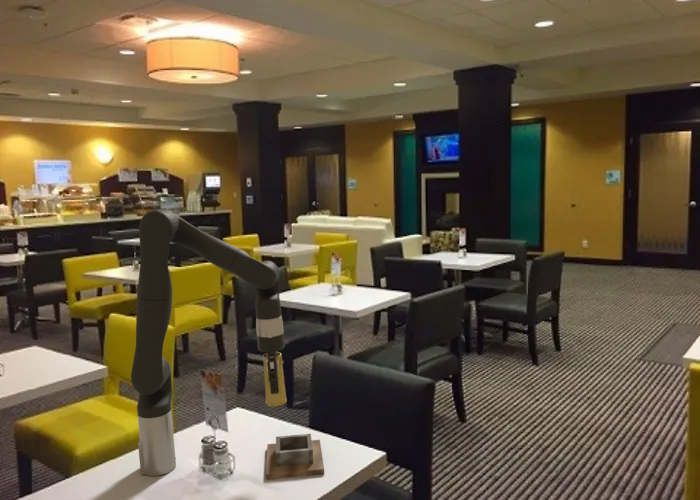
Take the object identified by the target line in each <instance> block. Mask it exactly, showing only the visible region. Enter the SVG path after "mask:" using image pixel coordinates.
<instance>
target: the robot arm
mask: <svg viewBox="0 0 700 500" xmlns="http://www.w3.org/2000/svg"><path fill="white" fill-rule="evenodd" d="M138 226H139V227H138V233H139V234H138V235H139V248H140V249H139V251H140V254H139V255H140V262H139V272H138V273H139V274H138V284H137V293H136V317H135V319H136V321H135V323H136V324H135V349H134V355H133V362H132V367H131V373H130V382H131V384H132V386H133V388H134V390H135V391H136V392H137V393H139V394H138V400H137V405H136V413H137V423H138V424H137V425H138V432H139V433H138V434H139V440H138V443H137V447H138V457H139V467H140V475H145V476H146V475H147V476H151V477H157V476H163V475H166V474H169V473H170V472H172V471H173V470H174V469H175V468H176V466H177V461H176V460H177V458H176V450H175V449H176V448H175V439H174V438H175V437H174V425H173V424H174V423H173V413H172V399H173V387H172V386H173V383H172V371H171V370H172V369H171V365H170V363H169V361H168V360H167V358H165V357H164V356H163V355H164V354H163V351H164V350H163V349H164V343H165V339H166V335H167V332H168V329H169V324H170V320H171V315H172V308H173V307H172V306H173V285H172V279H171V275H170V269H169V254H170V246H171V243H173V244H176V245H179V246H182V247H184V248H187V249H188V250H190V251H192V252H194V253H195V254H197V255H198V256H199V257H202V258H203V259H204V260H206V261H207V262H209V263H210V264H212V265H214V266H216V267H218V268H219V269H222V270H224V271H226V272H228V273H231V274H233V275H235V276H237V277H239V278H240V279H241V280H243V281H244V282H246V283H248V284H249V285H251V286H253V287H255V290H256V299H255V302H254V303H255V304H254V305H255V318H256V322H255V325H256V326H255V329H256V339H257V341H256V342H257V349H258V351H260V352H263V353H264V352H266V353H268V354H265V353H264V354H265V357H268V361H267V360H266V358H265V362H266V366H267V373H268V376H269V379H268V380H269V382H270V389H271V394H277V393H279V388H278V379H279V378H278V372H279V358H278V360H277V362H276V356H279V353H276V352H278V351H281V350H283V349H284V348H285V347H286V345H285V344H286V342H285V333H284V322H283V317H282V308H281V307H282V306H281V300H280V286H281V285H280V284H281V283H280V270H279V267H278V266H277V265H276V263H275V262H273V261H271V260H263V261H259V260H257V259H256V258H254V257H251V255H249V253H248V252H246V251H245V250H243V249H242V248H239V247H236V246H234V245H232V244H230V243H228V242H225V240H221V239H219V238H217V237H215V236H213V235H210V234H209V233H206V232H205V231H203V230H201V229H199V228H197V227H196V226H194V225H192V224H191V223H189V222H187V221H186V220H185V219H183V218H182V217H180V216H179V215H177V214H176V213H175V212H173V211H172V210H170V209H166V208H156V209H153V210H150V211H147V212H146V213H145V214H143V216H142V218H141V219H140V221H139V224H138ZM271 374H276V376H275V377H271Z"/></svg>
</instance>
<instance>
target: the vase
mask: <svg viewBox="0 0 700 500" xmlns="http://www.w3.org/2000/svg"><path fill="white" fill-rule="evenodd" d="M276 353H279V356H276V362H277V360H278V358H279V372H278V378H279V379H278V388H279V393H277V394H271V389H270V382H269V380H268V379H269V376H268V373H267V366H266V362H265V358H266V360H267V361H268V357H265V354H268V353H267V352H266V353H264V354H263V355H262V360H263V362H262V363H263V370H264V371H263V372H264V374H263V375H264V388H265V405H266V406H268V407H279V406H283V405H285V404H287V401H288V399H287V395H286V394H287V393H286V386H285V377H284V368H283V367H284V365H283V357H282V353H281V352H279V351H277V352H276ZM275 376H276V374H271V377H275Z"/></svg>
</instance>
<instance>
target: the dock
mask: <svg viewBox="0 0 700 500" xmlns="http://www.w3.org/2000/svg"><path fill="white" fill-rule="evenodd" d="M321 446H322V445H321V440H320V439H312V435H311V433H305V434H304V433H303V434H291V435H279V436H275V443H268V444H267V446H266V447H267V449H266V450H267V451H266V466H265V467H266V468H265V470H266V471H265V472H266V473H265V475H266V476H265V477H266V480H267V481H268V480H277V479H285V478H287V479H288V478H297V477H308V476H317V475H319V476H320V475H325V466H324V458H323V453H322V452H323V451H322V447H321Z"/></svg>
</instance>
